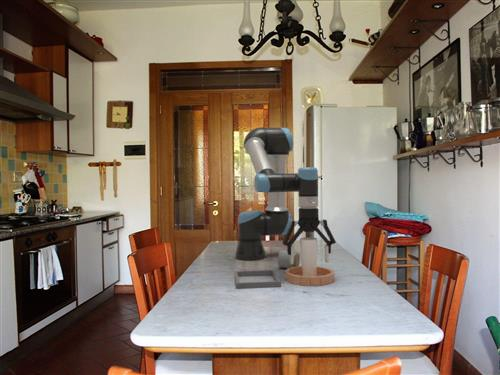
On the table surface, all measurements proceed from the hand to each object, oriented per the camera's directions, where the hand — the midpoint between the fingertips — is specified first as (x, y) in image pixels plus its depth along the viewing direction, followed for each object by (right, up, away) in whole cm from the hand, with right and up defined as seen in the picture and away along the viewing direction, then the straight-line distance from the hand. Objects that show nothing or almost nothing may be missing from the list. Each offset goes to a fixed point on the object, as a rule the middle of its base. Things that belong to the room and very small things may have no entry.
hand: (309, 262), depth 143 cm
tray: (-20, -7, -1) cm, 21 cm away
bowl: (0, -6, 0) cm, 6 cm away
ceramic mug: (-5, -7, +20) cm, 22 cm away
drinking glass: (0, -6, 0) cm, 6 cm away
